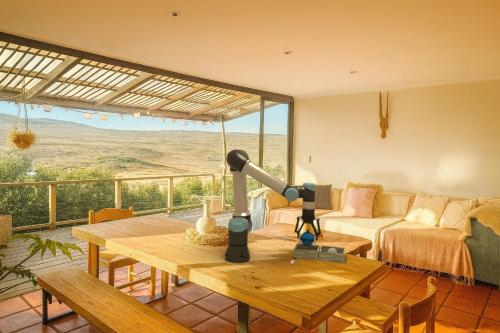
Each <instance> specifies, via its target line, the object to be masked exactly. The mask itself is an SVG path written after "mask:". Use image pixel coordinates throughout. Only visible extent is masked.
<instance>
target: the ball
mask: <svg viewBox="0 0 500 333" xmlns="http://www.w3.org/2000/svg"><path fill="white" fill-rule="evenodd" d="M327 252H330V253H337V250H336V249H335V248H330V249H328V251H327Z"/></svg>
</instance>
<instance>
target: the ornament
mask: <svg viewBox="0 0 500 333" xmlns="http://www.w3.org/2000/svg"><path fill="white" fill-rule="evenodd" d="M314 235H315V234H313V233H312V232H311V231H310V230H309V228H308V229H306V231H305V232H302V233H301V236H300V240H301V243H303V244H304V245H306V246H309V245H311V244H313V245H314Z"/></svg>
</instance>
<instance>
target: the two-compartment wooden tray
mask: <svg viewBox="0 0 500 333" xmlns="http://www.w3.org/2000/svg"><path fill="white" fill-rule="evenodd" d="M330 248H335V249H336V250H337V253H330V252H327V251H328V249H330ZM292 254H293V255H292V256H293V257H292V260H297V259H302V260H303V259H304V260H311V261H312V260H314V261H319V262H320V261H321V262H329V263H338V264H346V247H342V246H331V245H322V244H321V245H320V244H316V246H314V243H313V244H311V245H309V246H306V245H304V244H303V243H302V242H301V244H300V245H299V242H297V243H296V245H294V247H293V252H292Z"/></svg>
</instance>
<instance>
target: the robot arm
mask: <svg viewBox="0 0 500 333" xmlns="http://www.w3.org/2000/svg"><path fill="white" fill-rule="evenodd" d="M225 158H226V164H227V166H228V167H229V172H230V173H231V175H232V186H233V187H232V189H233V206H234V207H233V209H234V212H233V213H232V218H229V220H228V224H227V226H228V229H227V230H228V233H227V247H226V250H225V253H224V260H225V261H227V262H230V263H237V264H239V263H240V264H241V263H246V262H249V261H250V260H251V253H250V249H249V246H248V245H249V243H248V242H249V234H250V232H251V231H252V229H253V221H252V214H251V212H250V211H249V203H248V180H247V176H249V177H250V178H252V179H254V180H256V181H258V182H259V183H261V184H262V185H264V186H266V187H267V188H269V189H270V190H272V191H274V192H275V193H277V194H278V195H280V196H282V197H283V198H285V200H286V201H288V202H296V201H297V200H298V199H302V206H301V207H302V210H301V216H300V215H299V216H297V217H296V223H295V227H294V231H293V232H294V233H295V234H297V235H296V236H297V237H296V238H297V240H298V243H299V245H300V244H301V243H302V242H301V240H300V236H301V235H302V233H301V231H302V229H303V227H304V226H305V224H306V225H307V224H309V225H311V227H312V230H313V232H314V234H313V235H314V242H313V245H314V246H316V245H317V241H318V239H319V236H321V235H322V231H321V226H320V217H315V210H316V209H315V208H316V205H315V204H316V184H315V183H314V182H303V184H302V185H290V184H288V183H287V182H285V181H283V180H282V179H280V178H279V177H277V176H275V175H274V174H272V173H270V172H268V170H266V169H264V168H263V167H260V166H259V165H257V164H256V163H254V162H253V161H252V160H251V159H250V156H249V154H248V153H247V151H245V150H244V149H236V148H235V149H232V150H231V149H230V151H228V153H227V155H226V157H225ZM301 220H302V223H301V225H300V227H299V223H300V221H301ZM314 221H315V222H316V225H315V223H314ZM316 226H317V228H316Z"/></svg>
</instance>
